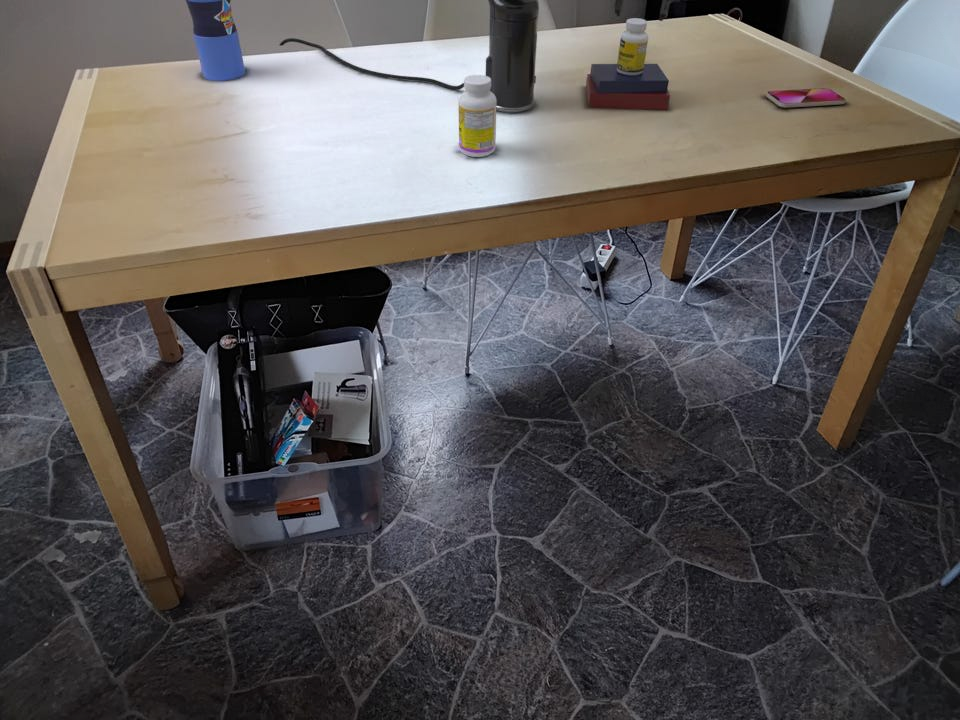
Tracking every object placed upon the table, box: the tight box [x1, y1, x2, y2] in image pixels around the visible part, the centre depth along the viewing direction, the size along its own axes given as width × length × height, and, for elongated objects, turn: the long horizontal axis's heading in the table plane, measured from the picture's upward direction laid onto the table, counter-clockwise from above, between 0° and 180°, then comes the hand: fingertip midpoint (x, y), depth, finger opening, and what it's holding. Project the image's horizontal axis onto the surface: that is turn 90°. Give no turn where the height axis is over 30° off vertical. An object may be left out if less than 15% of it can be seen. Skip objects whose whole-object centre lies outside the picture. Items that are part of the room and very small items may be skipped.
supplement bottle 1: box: [458, 74, 497, 158], centre depth 128 cm, size 7×7×13 cm
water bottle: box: [185, 0, 246, 82], centre depth 152 cm, size 9×9×25 cm
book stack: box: [585, 63, 671, 111], centre depth 150 cm, size 16×11×6 cm
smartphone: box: [765, 87, 847, 109], centre depth 152 cm, size 7×1×15 cm
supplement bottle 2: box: [616, 17, 649, 76], centre depth 145 cm, size 5×5×10 cm
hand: (639, 16), depth 145 cm, fingers open, 8 cm apart
